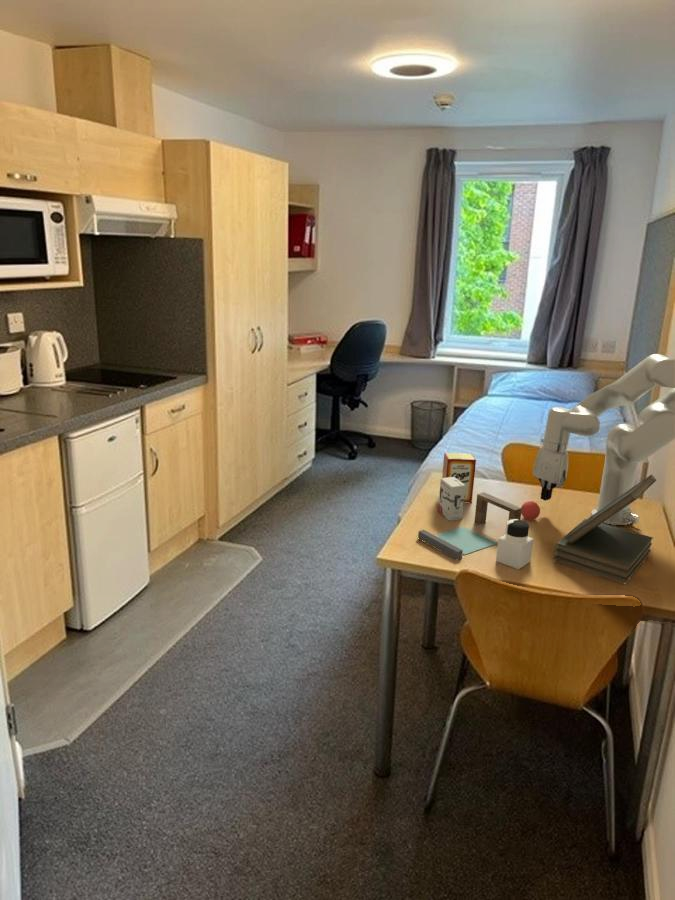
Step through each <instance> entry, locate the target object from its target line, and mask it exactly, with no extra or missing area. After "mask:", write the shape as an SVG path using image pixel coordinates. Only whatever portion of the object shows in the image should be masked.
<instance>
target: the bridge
mask: <svg viewBox="0 0 675 900" xmlns="http://www.w3.org/2000/svg"><path fill="white" fill-rule="evenodd" d="M488 504H490V505H493V506H496V507H497V508H500V509H502V510H505V511H507V512H508V519H507V521H509V520H512V519H519V520H522V519H521V517H522V514H521V511H522V508H521V507H520V506H518V505H515V504H513V503H511V502H508V501H506V500H503V499H501V498H499V497H496V496H493V495H491V494H489V493H487V492H480V493H477V495H476V504H475V513H474V514H475V515H474V521H473V522H474V524H476V525H479V526H480V525H483V524H486V522H487V516H488V515H487V512H488V506H489V505H488Z"/></svg>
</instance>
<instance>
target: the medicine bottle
mask: <svg viewBox="0 0 675 900" xmlns="http://www.w3.org/2000/svg"><path fill="white" fill-rule="evenodd" d="M529 531H530V524H529V522H527V521H525V520H522V519H520V520H519V519H512V520H509V521H508V520H507V521H506V524H505V533H504V535H502V536H500V537H498V539H497V543H498V544H497V547H496V548H497V549H496V555H495V561H496V562H498V563H500V564H502V565H505V566H508V567H511V568H514V569H516V570H520V569H522V568H523V567H524V566H526V565H528V564H529V563H530V562H531V559H532V553H533V546H534V538H533V537H530V536H529Z"/></svg>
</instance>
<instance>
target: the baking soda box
mask: <svg viewBox="0 0 675 900" xmlns="http://www.w3.org/2000/svg"><path fill="white" fill-rule="evenodd" d="M442 464H443V465H442V477H441V478H447V477H455V478H456V479H458V480H459V481H460V482H462V483H463V484H465V493H464V502H470V503H469V504H472V503H473V496H474V495H473V494H474V483H475V472H476V465H477V459H476V457H475V456H474V455H473V454H472V453H465V452H463V453H460V452H444V455H443V463H442Z"/></svg>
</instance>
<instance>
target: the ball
mask: <svg viewBox="0 0 675 900" xmlns="http://www.w3.org/2000/svg"><path fill="white" fill-rule="evenodd" d="M520 508H522V511H521V517H523V518H524V519H525V520H527V521H528V520H529V521H533V520H536V519H537V518H538V517H539V516H540V514H541V508H540V506H539V504H538V503H537V502H535V501H532V500H530V501H526V502H523V504H522V505H521V507H520Z"/></svg>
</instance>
